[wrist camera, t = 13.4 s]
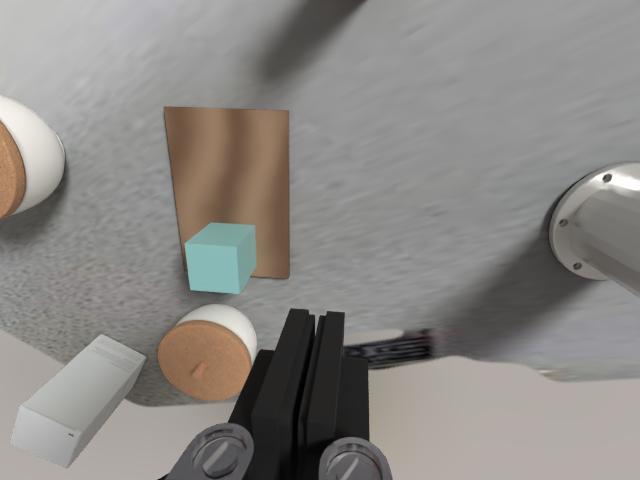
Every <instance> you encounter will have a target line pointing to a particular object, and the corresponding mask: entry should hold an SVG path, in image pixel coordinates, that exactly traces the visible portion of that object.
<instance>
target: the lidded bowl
mask: <svg viewBox="0 0 640 480" xmlns="http://www.w3.org/2000/svg"><path fill="white" fill-rule="evenodd" d="M65 159H66V158H65V150H64V147H63V144H62V142H61V140H60V138H59V136H58V135H57V133H56V132H55V131H54V130H53V129H52V128H51V127H50V126H49V125H48V124H47V123H46V122H45V121H44V120H43V119H42V118H41V117H40V116H39V115H38V114H36V113H35V112H34V111H32V110H31V109H29V108H28V107H26V106H25V105H23V104H21V103H19V102H17V101H15V100H12V99H10V98H8V97H5V96H2V95H0V221H1V220H3V219H5V218H7V217H9V216H12V215H15V214H18V213H20V212H23V211H25V210H27V209H29V208H31V207H33V206H35V205H37V204H39V203H40V202H42V201H43V200H45V199H46V198H47V197H49V196H50V195H51V194H52V193H53V192H54V190H55V189H56V188H57V187H58V185H59V183H60V181H61V179H62V176H63V172H64V165H65Z"/></svg>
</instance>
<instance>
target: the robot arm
mask: <svg viewBox="0 0 640 480" xmlns="http://www.w3.org/2000/svg"><path fill="white" fill-rule="evenodd" d="M560 220H561V221H560ZM549 241H550V245H551V248H552V251H553V253H554V255H555V256H556V258H557V259H558V261H559V262H561V263H562V264H563V265H564V266H565V267H566V268H567V269H569V270H570V271H572V272H573V273H575V274H577V275H580V276H582V277H585V278H589V279H593V280H613V281H614V282H616V283H617V284H619V285H620V286H622V287H623V288H625V289H626V290H628V291H629V292H631V293H632V294H634V295H635V296H637V297H639V298H640V163H634V162H628V163H620V164H614V165H611V166H608V167H604V168H602V169H599V170H597V171H595V172H593V173H591V174H589V175H588V176H586V177H585V178H583V179H582V180H580V181H579V182H577V183H576V184H575V185H574V186H573V187H572V188H571V189H570V190H569V191H568V192H567V193H566V194H565V195H564V197H563V198H562V199H561V200H560V202H559V203H558V205H557V207H556V209H555V211H554V213H553V216H552V218H551V221H550V227H549ZM344 318H345V312H332V311H327V314H326V316H322V315H320V317H319V322H318V326H317V331H316V336H315V315H309V310H305V309H292V308H291V309H290V311H289V314H288V317H287V319H286V322H285V325H284V327H283V330H282V333H281V336H280V338H279V341H278V344H277V347H276V349H275V351H274V350H263V349H261V350H260V351H259V352H258V354H257V356H256V359H255V361H254V363H253V366H252V368H251V370H250V373H249V375H248V377H247V379H246V382H245V384H244V386H243V389H242V391H241V393H240V396H239V398H238V400H237V402H236V405H235V407H234V410H233V412H232V414H231V416H230V419H229V421H228V423H222V424H216V425H214V426H211V427H209V428H207V429H205V430H204V431H202V432H201V433H199V434H198V435H197V436H196V437H195V438H194V439H193V440H192V441H191V443H190V444H189V445H188V447H187V448H186V450H185V451H184V452H183V454H182V455H181V457H180V458H179V460H178V461H177V463H176V464H175V465H174V467H173V469H172V470H171V471H170V473H168V474H167V475H165V476H163V477H162V478H160V479H158V480H392V475H391V471H390V467H389V464H388V462H387V459H386V457H385V456H384V455H383V453H382V452H381V451H380V449H379V448H377V447H376V446H375V445H374V444H372V443H371V442H369V396H368V395H369V393H368V359H364V358H353V357H343V339H344Z"/></svg>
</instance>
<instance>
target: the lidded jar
mask: <svg viewBox="0 0 640 480" xmlns="http://www.w3.org/2000/svg"><path fill="white" fill-rule="evenodd" d="M256 348H257V339H256V333H255V330H254V328H253V325H252V323H251V322H250V320H249V319H248V318H247V317H246V316H245V314H243V313H242V312H241V311H240V310H238V309H237V308H235V307H232V306H229V305H225V304H208V305H204V306H201V307H198V308H196V309H194V310H193V311H191V312H189V313H188V314H187V315H185V316H184V317H183V318H182V319H181V320H180V321H179V322H178V323H177V324H176V325H175V326H174V327H173V328H172V329H171V330H170V331H169V332H168V333H167V334H166V335H165V336H164V337H163V339H162V341H161V342H160V345H159V348H158V361H159V365H160V368H161V370H162V372H163V374H164V375H165V377H166V378H167V379H168V381H169V382H170V383H171V384H172V385H173V386H174V387H176V388H177V389H179V390H180V391H182V392H183V393H185V394H187V395H189V396H192V397H194V398H198V399H202V400H210V401H216V400H223V399H227V398H230V397H232V396H234V395H236V394H238V393H239V392H240V391H241V390H242V389H243V386H244V384H245V382H246V379H247V377H248V375H249V373H250V370H251V368H252V366H253V363H254V360H255V356H256Z"/></svg>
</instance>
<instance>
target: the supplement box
mask: <svg viewBox="0 0 640 480" xmlns="http://www.w3.org/2000/svg"><path fill="white" fill-rule="evenodd" d="M146 358H147V357H146V356H144V355H143V354H141V353H139V352H137V351H135V350H133V349H131V348H129V347H127V346H125V345H123V344H121V343H119V342H117V341H115V340H113V339H111V338H109V337H107V336H105V335H103V334H101V335H99V336H98V337H97V338H96V339H95V340H93V341H92V342H91V343H90V344H89V345H88V346H87V347H86V348H84V349H83V350H82V351H81V352H80V353H79V354H78V355H77V356H75V357H74V358H73V359H72V360H71V361H70V362H69V363H68V364H67V365H65V366H64V367H63V368H62V369H61V370H60V371H59V372H58V373H57V374H55V375H54V376H53V377H52V378H51V379H50V380H49V381H48V382H47V383H45V384H44V385H43V386H42V387H41V388H40V389H39V390H37V392H35V393H34V394H33V395H32V396H31V397H30V398H28V399H27V400H26V401H25V402H24V403H23V404H22V405H20V408H19V412H18V415H17V419H16V423H15V426H14V429H13V433H12V436H11V440H10V444H12V445H15V446H17V447H19V448H21V449H23V450H25V451H28V452H30V453H32V454H35V455H37V456H39V457H41V458H44V459H46V460H49V461H51V462H53V463H56V464H58V465H60V466H62V467H65V468H68V467H69V466H70V465H71V464H72V463H73V461H74V460H75V459H76V458H77V457H78V456H79V454H80V453H81V452H82V451H83V449H84V448H85V447H86V446H87V444H88V443H89V442H90V440H91V439H92V438H93V437H94V435H95V434H96V433H97V432H98V430H99V429H100V428H101V427H102V425H103V424H104V423H105V421H106V420H107V419H108V418H109V416H110V415H111V414H112V413H113V411H114V410H115V409H116V408H117V406H118V405H119V404H120V403H121V401H122V400H123V399H124V398H125V397H126V395H127V394H128V393H129V392H130V390H131V389H132V388H133V386H134V384H135V382H136V380H137V377H138V375H139V373H140V371H141V369H142V367H143V364H144V362H145V360H146Z"/></svg>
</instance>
